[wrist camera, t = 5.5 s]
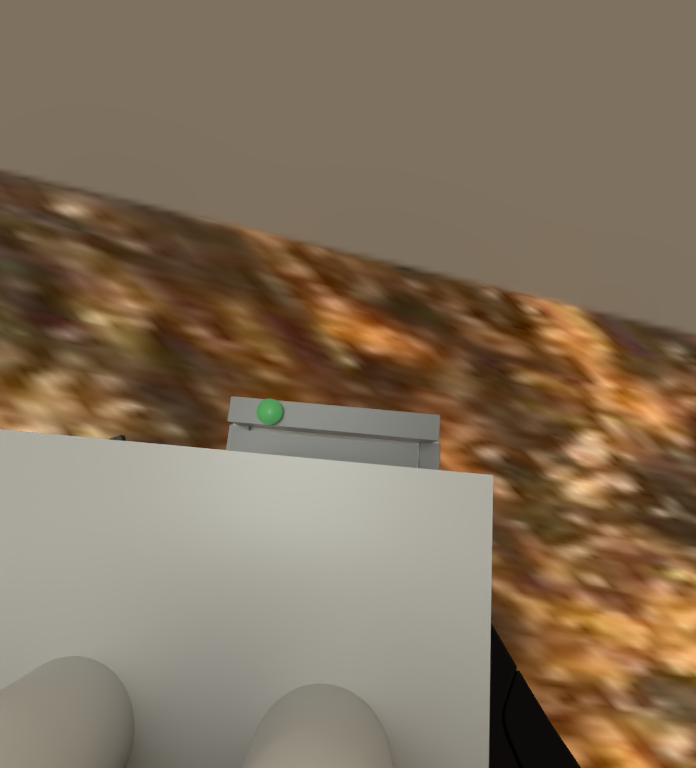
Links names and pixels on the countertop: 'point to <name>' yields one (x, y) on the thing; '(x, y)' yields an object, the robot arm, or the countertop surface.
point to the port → (339, 424)
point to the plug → (241, 605)
